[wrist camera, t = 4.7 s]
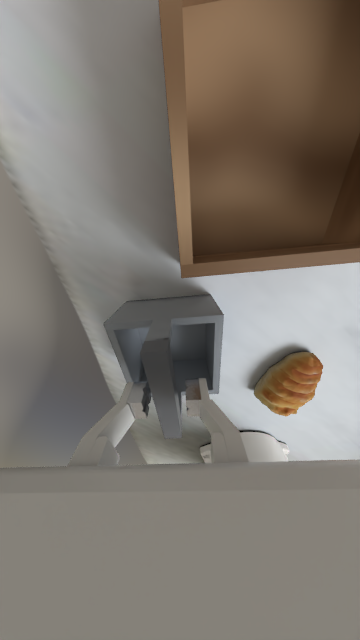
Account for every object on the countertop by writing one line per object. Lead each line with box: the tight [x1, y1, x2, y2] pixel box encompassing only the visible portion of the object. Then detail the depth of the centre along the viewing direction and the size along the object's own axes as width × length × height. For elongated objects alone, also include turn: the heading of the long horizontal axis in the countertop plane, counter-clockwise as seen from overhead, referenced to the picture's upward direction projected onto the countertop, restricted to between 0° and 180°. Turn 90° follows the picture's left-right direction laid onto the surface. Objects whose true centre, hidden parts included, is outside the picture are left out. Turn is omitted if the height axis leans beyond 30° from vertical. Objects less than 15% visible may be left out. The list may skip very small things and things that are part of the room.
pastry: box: [254, 352, 323, 416], centre depth 18 cm, size 9×7×4 cm
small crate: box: [104, 294, 224, 439], centre depth 13 cm, size 9×9×9 cm
